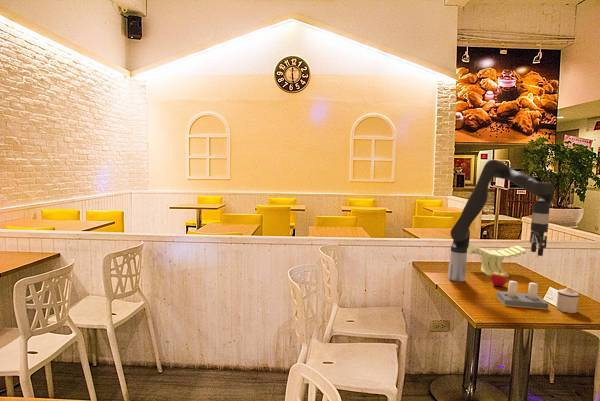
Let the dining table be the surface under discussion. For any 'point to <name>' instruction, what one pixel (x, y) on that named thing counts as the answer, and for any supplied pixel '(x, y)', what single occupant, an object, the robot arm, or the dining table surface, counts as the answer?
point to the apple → (498, 278)
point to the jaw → (512, 289)
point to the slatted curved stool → (494, 257)
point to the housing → (522, 301)
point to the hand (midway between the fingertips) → (536, 253)
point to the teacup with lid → (567, 300)
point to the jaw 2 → (532, 291)
